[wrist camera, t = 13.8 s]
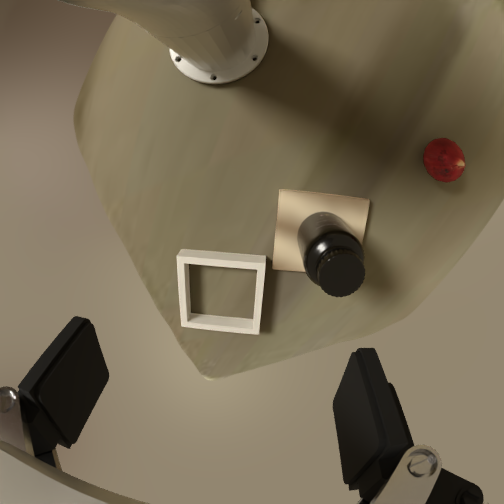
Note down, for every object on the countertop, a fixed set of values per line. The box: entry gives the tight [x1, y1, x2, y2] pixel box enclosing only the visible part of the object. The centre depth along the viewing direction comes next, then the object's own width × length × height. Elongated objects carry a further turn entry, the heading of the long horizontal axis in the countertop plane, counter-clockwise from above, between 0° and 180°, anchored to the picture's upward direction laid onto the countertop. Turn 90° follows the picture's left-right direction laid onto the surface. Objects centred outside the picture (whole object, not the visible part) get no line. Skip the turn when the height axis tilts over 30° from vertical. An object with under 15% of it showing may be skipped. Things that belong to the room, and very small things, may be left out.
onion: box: [423, 138, 466, 182], centre depth 30 cm, size 6×6×8 cm
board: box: [272, 189, 370, 272], centre depth 39 cm, size 11×12×1 cm
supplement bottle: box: [297, 212, 365, 297], centre depth 33 cm, size 7×7×12 cm
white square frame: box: [177, 249, 266, 335], centre depth 42 cm, size 12×12×2 cm
